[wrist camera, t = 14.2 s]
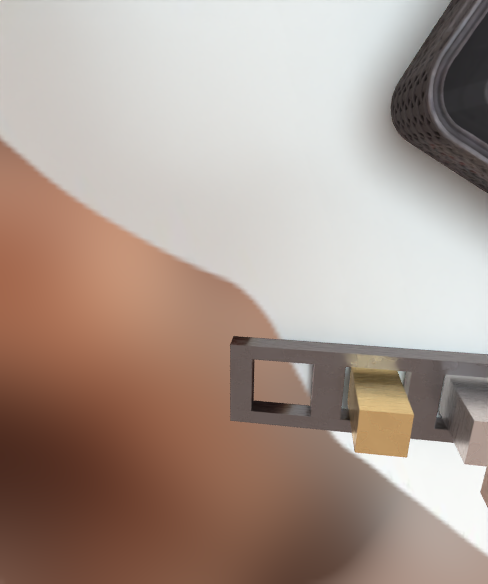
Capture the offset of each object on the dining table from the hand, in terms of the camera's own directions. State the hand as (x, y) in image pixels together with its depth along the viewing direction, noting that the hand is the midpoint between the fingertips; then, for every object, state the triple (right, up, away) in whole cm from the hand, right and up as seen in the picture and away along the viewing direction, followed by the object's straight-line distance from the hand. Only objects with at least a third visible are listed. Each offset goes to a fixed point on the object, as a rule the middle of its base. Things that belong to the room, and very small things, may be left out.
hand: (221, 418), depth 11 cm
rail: (+14, -7, +34) cm, 38 cm away
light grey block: (+24, -7, +33) cm, 41 cm away
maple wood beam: (+14, -7, +34) cm, 38 cm away
